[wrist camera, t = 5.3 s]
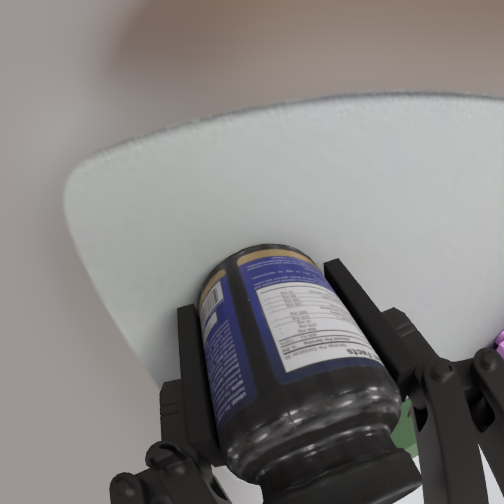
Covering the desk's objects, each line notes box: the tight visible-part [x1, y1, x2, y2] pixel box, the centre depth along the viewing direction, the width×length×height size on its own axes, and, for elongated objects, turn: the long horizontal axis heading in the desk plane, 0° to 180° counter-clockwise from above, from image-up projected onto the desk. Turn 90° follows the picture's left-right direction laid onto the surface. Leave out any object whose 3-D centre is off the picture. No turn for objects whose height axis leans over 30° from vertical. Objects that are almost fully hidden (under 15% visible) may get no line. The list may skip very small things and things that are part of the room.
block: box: [390, 399, 418, 458], centre depth 28 cm, size 8×8×5 cm
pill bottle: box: [198, 244, 423, 504], centre depth 10 cm, size 6×6×11 cm
